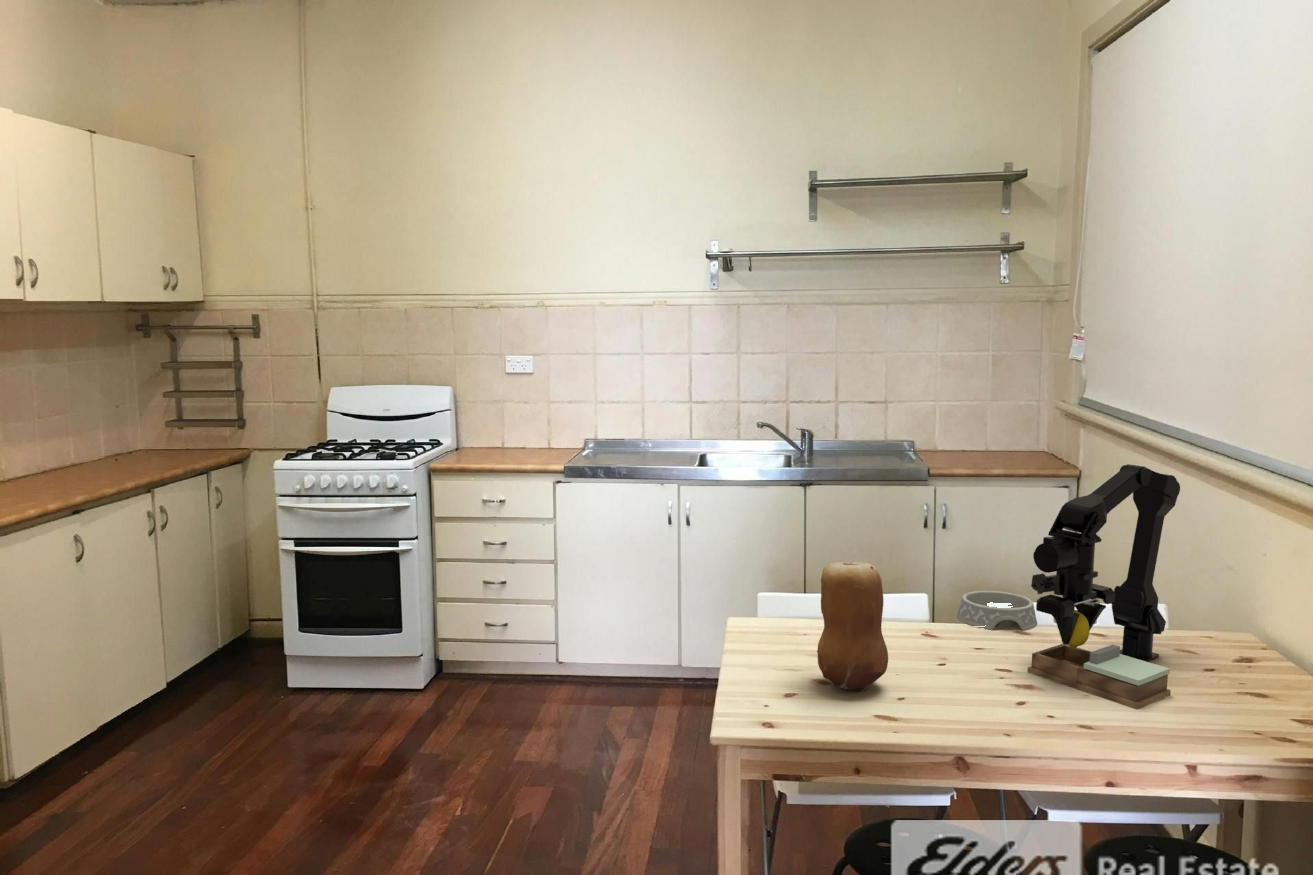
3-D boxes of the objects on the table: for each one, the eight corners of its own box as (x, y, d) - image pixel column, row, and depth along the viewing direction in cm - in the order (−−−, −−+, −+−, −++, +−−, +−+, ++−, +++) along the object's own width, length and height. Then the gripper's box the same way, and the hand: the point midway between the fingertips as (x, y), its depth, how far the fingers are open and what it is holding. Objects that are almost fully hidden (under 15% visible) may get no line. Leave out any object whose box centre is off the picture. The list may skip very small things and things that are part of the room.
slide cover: (1083, 668, 193) (1084, 653, 192) (1114, 657, 199) (1115, 642, 199) (1138, 685, 184) (1139, 670, 183) (1169, 673, 190) (1170, 658, 190)
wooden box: (1027, 672, 203) (1028, 653, 202) (1061, 660, 209) (1062, 642, 209) (1136, 708, 184) (1138, 688, 183) (1170, 694, 191) (1171, 674, 190)
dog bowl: (948, 609, 246) (949, 588, 246) (1023, 610, 246) (1024, 589, 245) (967, 631, 229) (968, 608, 229) (1048, 632, 229) (1049, 609, 228)
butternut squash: (842, 670, 203) (846, 550, 200) (900, 687, 194) (904, 562, 191) (801, 687, 194) (804, 562, 190) (859, 707, 184) (863, 575, 181)
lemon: (1083, 644, 203) (1085, 606, 202) (1092, 653, 198) (1094, 614, 197) (1055, 643, 204) (1057, 605, 203) (1063, 652, 198) (1065, 613, 197)
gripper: (1068, 551, 210) (1064, 622, 212) (1014, 564, 200) (1010, 639, 202) (1118, 561, 201) (1113, 636, 203) (1065, 576, 190) (1060, 654, 192)
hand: (1073, 640), depth 200 cm, fingers closed on lemon, 5 cm apart
